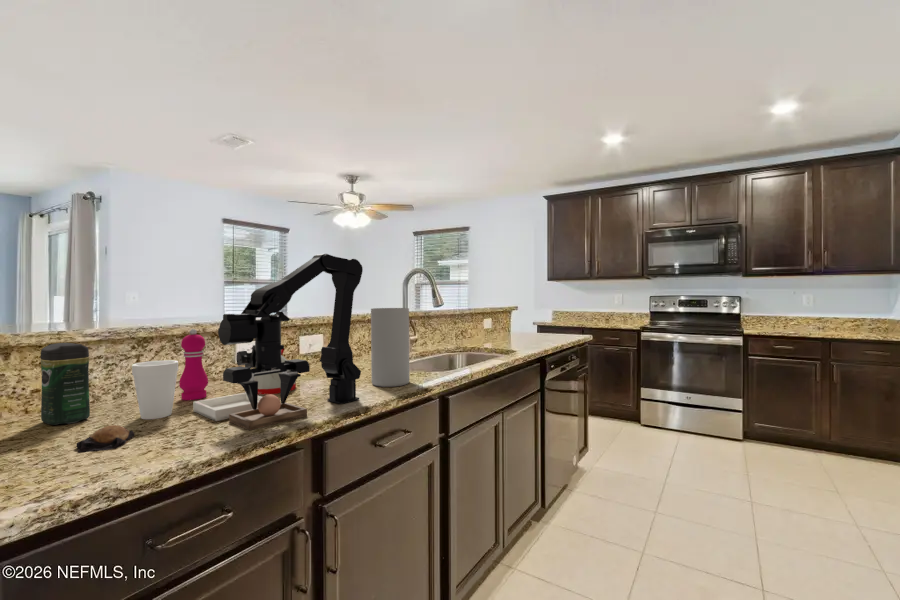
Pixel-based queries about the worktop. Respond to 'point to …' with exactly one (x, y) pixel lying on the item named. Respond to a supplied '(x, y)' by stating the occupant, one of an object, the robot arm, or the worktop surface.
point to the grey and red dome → (271, 381)
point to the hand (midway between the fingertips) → (269, 406)
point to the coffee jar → (65, 383)
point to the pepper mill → (193, 368)
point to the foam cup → (155, 387)
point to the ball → (269, 405)
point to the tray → (258, 420)
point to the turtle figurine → (105, 439)
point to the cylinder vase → (390, 346)
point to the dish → (223, 406)
